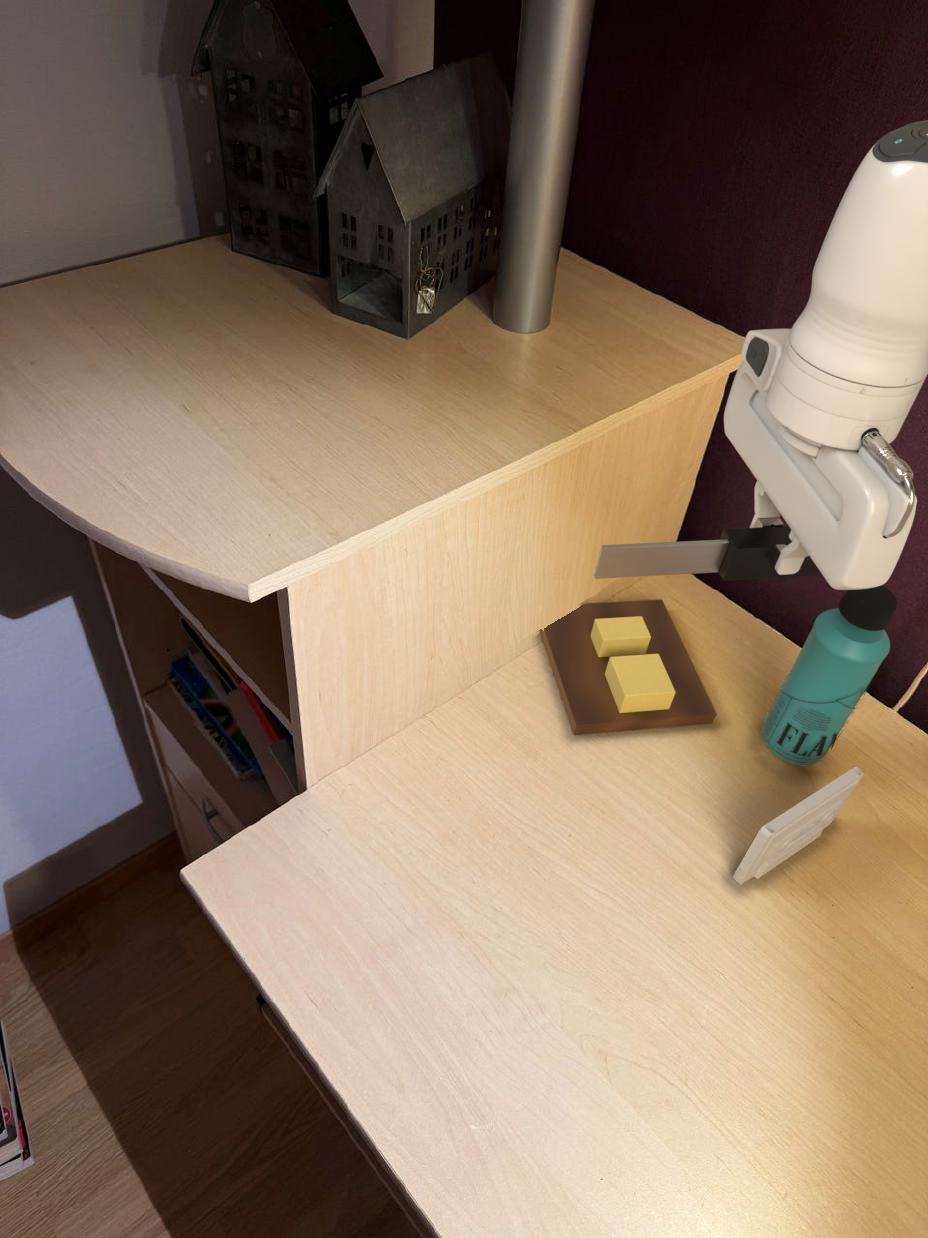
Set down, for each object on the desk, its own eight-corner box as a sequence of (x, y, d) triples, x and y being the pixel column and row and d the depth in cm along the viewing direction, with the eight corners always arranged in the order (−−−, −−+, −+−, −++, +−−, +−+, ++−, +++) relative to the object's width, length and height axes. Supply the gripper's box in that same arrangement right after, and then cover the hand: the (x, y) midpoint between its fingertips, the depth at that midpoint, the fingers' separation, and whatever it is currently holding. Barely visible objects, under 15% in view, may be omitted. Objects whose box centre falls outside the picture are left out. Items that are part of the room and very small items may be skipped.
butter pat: (636, 633, 93) (642, 615, 91) (645, 654, 91) (651, 637, 89) (590, 636, 92) (594, 618, 91) (598, 657, 90) (603, 640, 88)
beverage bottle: (753, 767, 84) (835, 612, 70) (754, 715, 89) (831, 559, 75) (824, 785, 83) (921, 632, 69) (821, 731, 88) (911, 577, 74)
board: (658, 609, 98) (662, 599, 97) (712, 724, 87) (717, 714, 86) (534, 616, 96) (536, 605, 95) (573, 735, 85) (576, 725, 84)
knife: (804, 555, 72) (818, 524, 70) (817, 575, 71) (833, 544, 69) (589, 566, 69) (598, 534, 67) (598, 588, 67) (607, 555, 65)
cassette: (742, 891, 75) (773, 841, 69) (726, 874, 76) (755, 822, 70) (836, 827, 80) (871, 776, 75) (819, 812, 81) (853, 760, 76)
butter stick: (652, 670, 90) (658, 653, 88) (669, 709, 86) (676, 692, 84) (604, 674, 89) (609, 656, 87) (619, 713, 85) (625, 696, 83)
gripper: (971, 484, 54) (875, 646, 63) (814, 321, 68) (756, 473, 77) (876, 487, 52) (793, 652, 62) (737, 321, 67) (687, 476, 76)
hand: (771, 552), depth 70 cm, fingers closed on knife, 2 cm apart
